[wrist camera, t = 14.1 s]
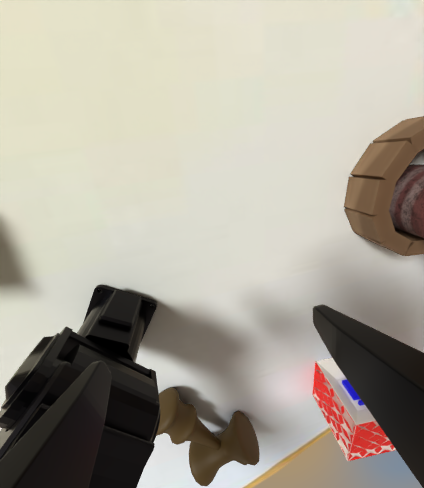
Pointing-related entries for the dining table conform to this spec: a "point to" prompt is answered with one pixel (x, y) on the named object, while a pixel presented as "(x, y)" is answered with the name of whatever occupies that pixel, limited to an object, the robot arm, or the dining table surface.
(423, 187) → the can
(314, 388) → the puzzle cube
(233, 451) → the kendama
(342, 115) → the dining table surface
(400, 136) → the walnut ring
